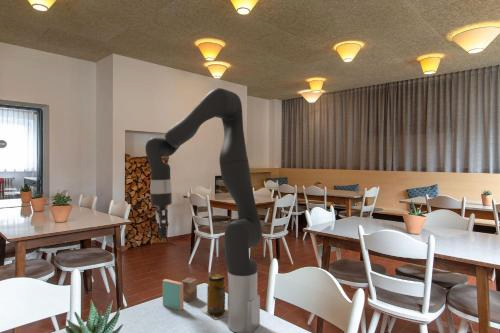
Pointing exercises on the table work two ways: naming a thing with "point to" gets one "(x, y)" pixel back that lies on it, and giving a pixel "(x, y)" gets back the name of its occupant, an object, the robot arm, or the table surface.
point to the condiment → (216, 297)
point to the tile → (173, 294)
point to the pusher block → (189, 289)
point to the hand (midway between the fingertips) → (161, 235)
